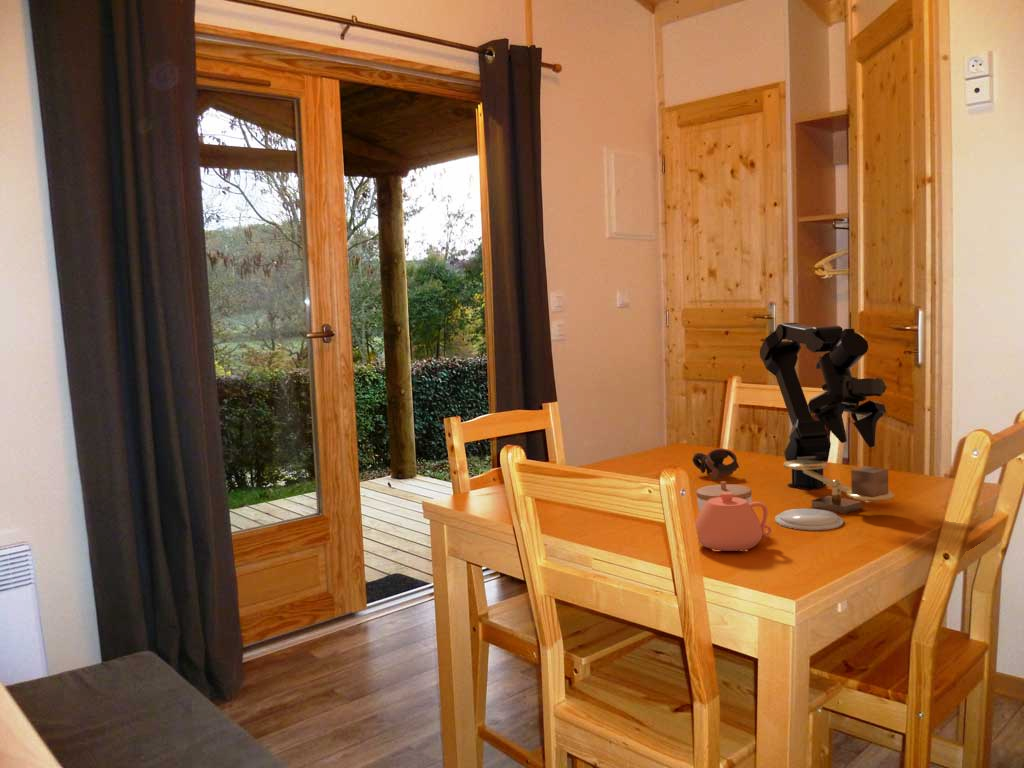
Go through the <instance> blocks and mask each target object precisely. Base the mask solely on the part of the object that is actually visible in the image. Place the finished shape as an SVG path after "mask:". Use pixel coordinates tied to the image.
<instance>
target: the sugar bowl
mask: <svg viewBox="0 0 1024 768" xmlns="http://www.w3.org/2000/svg"><path fill="white" fill-rule="evenodd" d="M733 495H734V494H733V493H731V492H722V493H720V496H721V497H716V498H712V499H709V500H708V501H707V502H706V503H705V505H704V506H703V508H702V510H701V511H700V512H698V513H699V514H698V515H697V517H696V519H695V520H696V521H695V524H694V526H695V525H696V529H697V534H698V539H699V541H698V542H699V543H700V544H701V545H702V546H703V547H704V548H707V549H710V550H712V549H714V550H722V552H723V551H724V552H725V551H727V552H732V551H735V552H736V551H738V550H742V551H745V550H749V549H752V548H754V547H756V546H757V544H758V543H759V542H760V541H761V539H762V537H767V536H769V535H771V534H772V527H771V525H770V524H769V525H768V524H766V523H767V519H768V516H769V515H768V514H769V511H768V507H767V506H766V505H765V504H764V503H763V502H761V501H751V503H750V504H749V503H748V502H747V501H746V500H745V499H742V498H737V497H733ZM753 507H760V508H762V517H761V521H760V519H759V516H758V515H757V513H756V512H755V510H754V508H753ZM765 529H767V530H766V531H765Z"/></svg>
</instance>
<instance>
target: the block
mask: <svg viewBox="0 0 1024 768" xmlns="http://www.w3.org/2000/svg"><path fill="white" fill-rule="evenodd" d="M850 471H851V473H850V474H851V476H850V477H851V480H850V481H851V489H852V494H858V495H863V496H869V497H877V496H880V495H884V494H888V491H889V469H888V468H882V467H881V468H880V467H875V466H869V465H865V466H861V467H857V468H852V469H850Z"/></svg>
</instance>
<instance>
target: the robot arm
mask: <svg viewBox="0 0 1024 768" xmlns="http://www.w3.org/2000/svg"><path fill="white" fill-rule="evenodd" d="M801 344H802V345H805V348H806V349H807V350H809V351H810V352H812V353H814V354H815V353H816V354H817V353H824V354H823V355H822V356H819V358H818V361H817V362H816V366H815V368H816V369H818V370H820V371H821V374H822V378H823V381H824V384H823V385H821V389H822V391H824V392H822V393H820V394H818V395H816V396H814V397H812V398H811V399H809V401H807V399H806V396H805V393H804V391H803V387H802V385H801V382H800V380H799V379H800V378H799V377H798V374H797V371H796V365H797V362H798V359H799V357H798V354H799V352H800V351H801V349H802V346H801ZM868 350H869V343H868V340H866V338H865V337H864V336H862V335H861V334H859V333H857V332H855V328H842V326H841V325H829V326H827V325H826V326H810V325H805V324H800V323H798V322H782V323H779V324H777V327H776V329H775V330H774V331H773V332H772V333H770V334H769V335H768V336H766V337H765V338H764V340H763V342H762V344H761V346H760V349H759V357H760V359H761V361H762V362H763V364H764V367H765V369H766V370H767V371H768V372H769V373H770V374H771V375H773V376H775V378H776V381H777V384H778V386H779V390H780V394H781V396H782V398H783V402H784V406H785V407H786V410H787V413H788V416H789V420H790V422H791V427H792V428H791V430H790V434H789V437H788V438H789V441H788V444H787V446H786V448H785V450H784V453H783V454H784V457H785V462H787V461H792V460H816V461H822V462H828V461H829V456H830V451H831V445H832V442H831V439H830V437H829V433H828V432H827V430H826V428H827V429H828V430H829V431H830V432H831V433H832V434H833V435H834V437H836V438H837V440H838V441H839V442H840V443H842V444H845V443H846V442H847V434H846V429H845V424H844V420H843V413H850V416H851V419H852V420H853V421H854V422H853V425H854V427H855V428H856V429H857V431H858V433H859V434H860V436H861V437H862V439H863V441H864V443H866V445H867V446H868V447H869V448H870V449H871V448H874V447H875V446H876V430H877V423H878V422H879V420H880V419H881V418H883V417H884V416H885V415H886V414H887V410H886V407H885V404H884V403H881V402H879V401H876V400H875V401H874V400H867V397H875V396H876V397H883V394H884V393H885V392H886V389H887V385H886V383H885V381H884V379H883V378H881V377H880V378H879V377H876V378H871V377H869V378H868V377H867V378H866V377H864V378H857V377H853V374H852V371H851V369H850V368H852V367H854V366H855V365H856V364H857V363H858V362H859V361H860V360H861V359H862V358H863V356H865V354H866V353H868ZM864 401H866V402H864ZM860 402H862V403H861V404H860ZM863 402H864V403H863ZM812 414H813V415H814V417H815V418H817V419H818V420H816V419H814V418H813V415H812ZM812 471H814V472H816V473H818V474H820V475H823V476H824V468H823V469H818V470H812ZM787 486H788V487H792V488H796V489H797V488H798V489H803V490H807V491H811V490H815V489H818V488H823V487H827V484H826V483H824V482H822V481H820V480H818V479H816V478H814V477H811V476H809V475H807V474H805V473H803V471H802V470H795V469H791V482H789V483H787Z"/></svg>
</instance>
